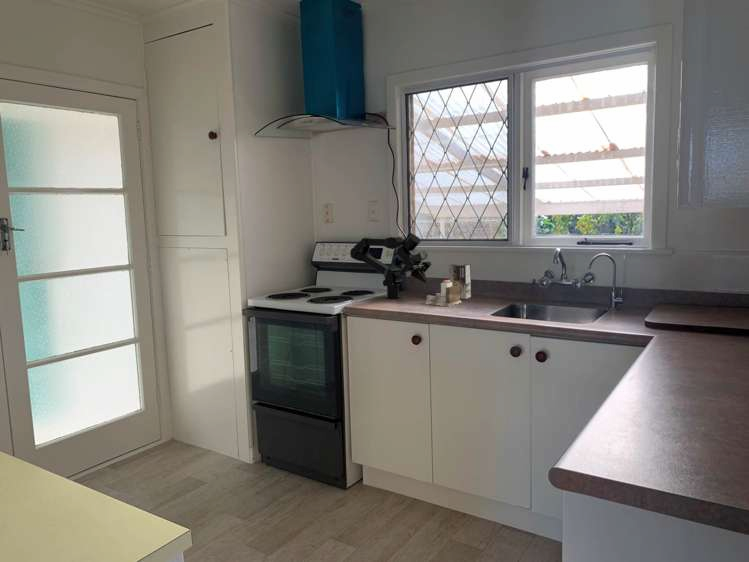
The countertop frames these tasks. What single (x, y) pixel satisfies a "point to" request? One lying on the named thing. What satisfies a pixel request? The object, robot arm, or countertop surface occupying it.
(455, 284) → the coffee box
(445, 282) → the white shaker
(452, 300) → the mount
